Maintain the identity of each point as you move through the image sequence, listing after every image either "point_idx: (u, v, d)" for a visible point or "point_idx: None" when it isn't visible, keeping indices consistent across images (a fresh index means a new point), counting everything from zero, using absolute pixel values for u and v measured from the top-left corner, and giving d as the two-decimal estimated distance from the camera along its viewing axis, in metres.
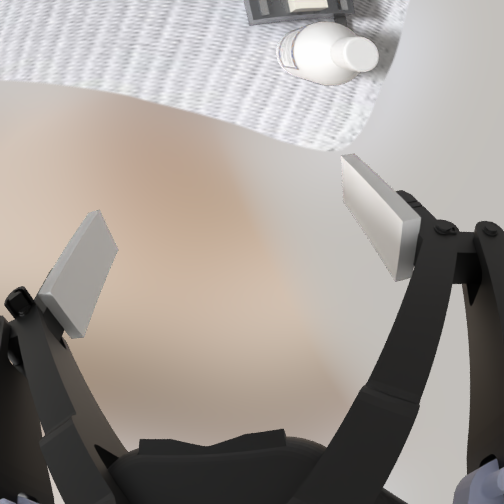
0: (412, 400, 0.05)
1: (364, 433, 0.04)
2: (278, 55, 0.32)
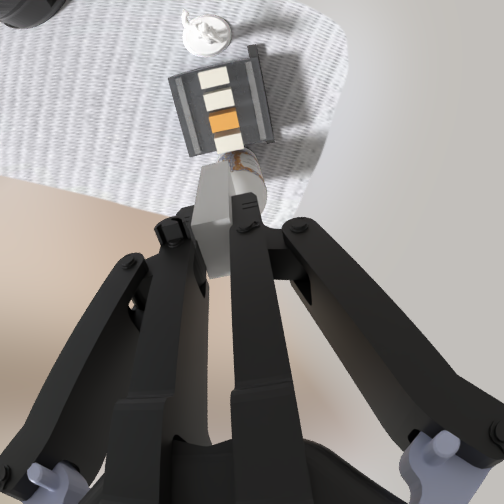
0: (284, 380, 0.06)
1: (257, 427, 0.05)
2: None
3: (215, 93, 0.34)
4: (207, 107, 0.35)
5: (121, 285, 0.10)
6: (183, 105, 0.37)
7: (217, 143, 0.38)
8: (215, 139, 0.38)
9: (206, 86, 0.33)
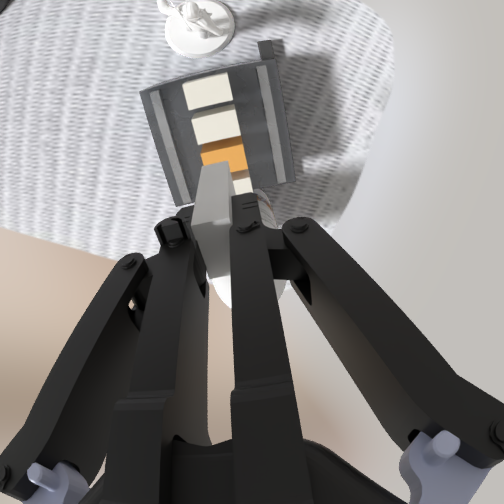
0: (284, 380, 0.06)
1: (256, 427, 0.05)
2: None
3: (210, 116, 0.22)
4: (198, 138, 0.23)
5: (121, 285, 0.10)
6: (163, 133, 0.25)
7: None
8: None
9: (196, 105, 0.22)
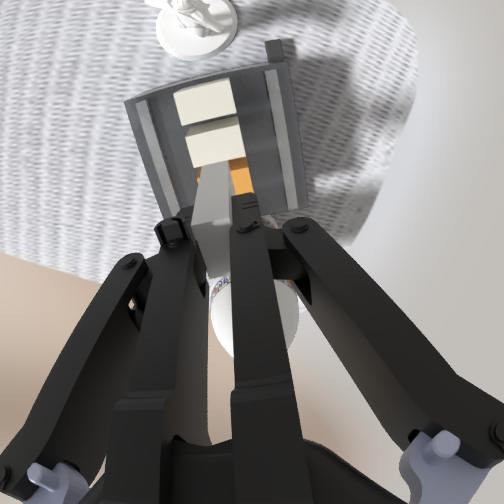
0: (284, 380, 0.06)
1: (256, 427, 0.05)
2: None
3: (208, 133, 0.18)
4: (194, 160, 0.19)
5: (121, 285, 0.10)
6: (152, 151, 0.21)
7: None
8: None
9: (190, 119, 0.18)
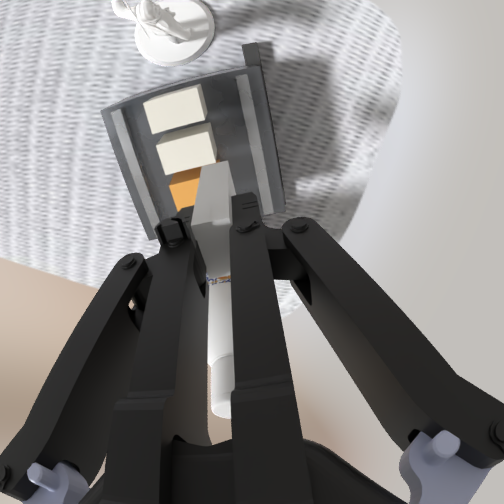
0: (284, 380, 0.06)
1: (257, 427, 0.05)
2: None
3: (178, 141, 0.18)
4: (165, 167, 0.19)
5: (121, 285, 0.10)
6: (128, 159, 0.21)
7: None
8: None
9: (160, 128, 0.18)
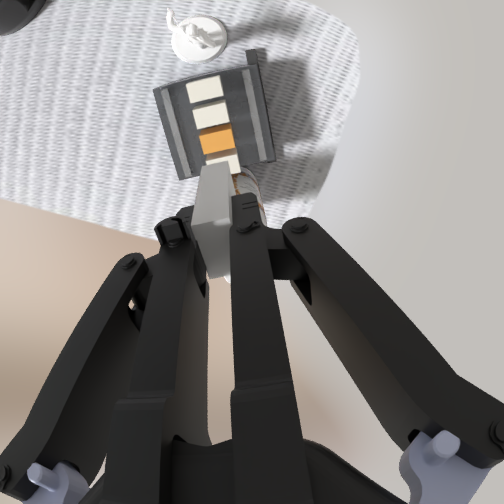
0: (284, 380, 0.06)
1: (257, 427, 0.05)
2: None
3: (206, 108, 0.29)
4: (197, 124, 0.30)
5: (121, 285, 0.10)
6: (170, 121, 0.32)
7: None
8: (207, 161, 0.33)
9: (196, 99, 0.29)
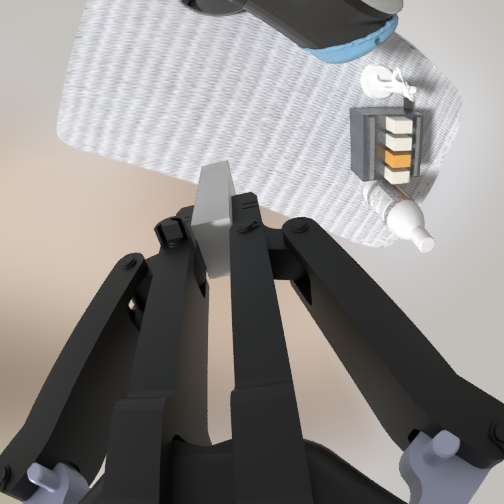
0: (284, 380, 0.06)
1: (256, 427, 0.05)
2: (366, 195, 0.56)
3: (402, 138, 0.43)
4: (394, 148, 0.44)
5: (121, 285, 0.10)
6: (371, 140, 0.45)
7: (393, 176, 0.47)
8: (393, 173, 0.46)
9: (397, 132, 0.42)
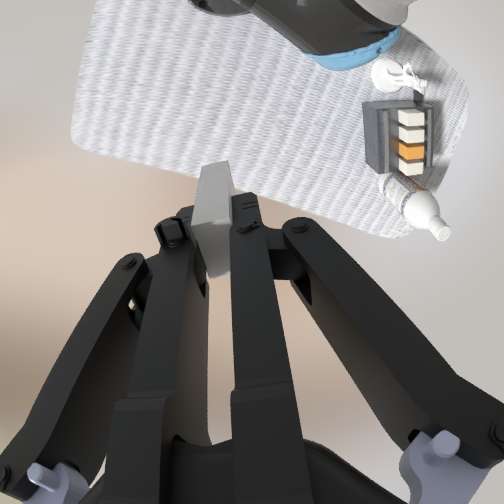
0: (284, 380, 0.06)
1: (256, 427, 0.05)
2: (382, 187, 0.56)
3: (414, 131, 0.43)
4: (408, 140, 0.44)
5: (121, 285, 0.10)
6: (385, 133, 0.45)
7: (408, 168, 0.47)
8: (407, 164, 0.46)
9: (410, 124, 0.42)
